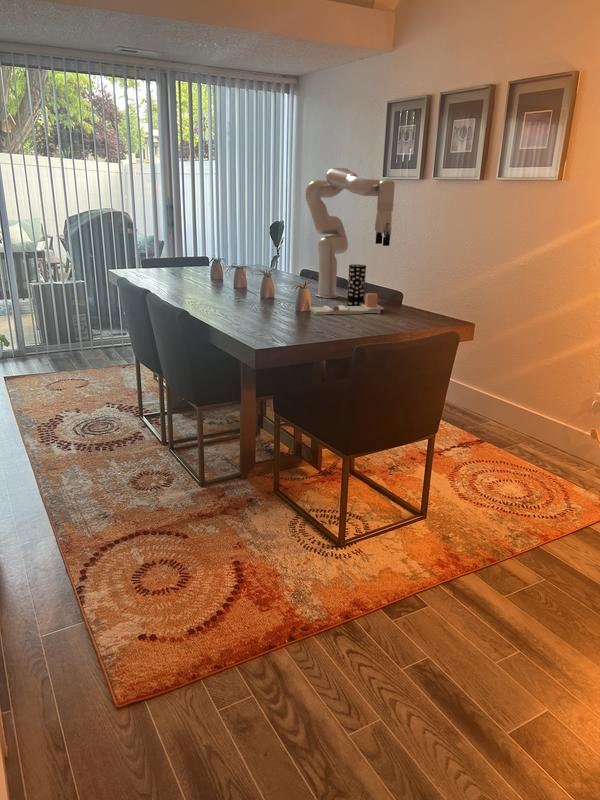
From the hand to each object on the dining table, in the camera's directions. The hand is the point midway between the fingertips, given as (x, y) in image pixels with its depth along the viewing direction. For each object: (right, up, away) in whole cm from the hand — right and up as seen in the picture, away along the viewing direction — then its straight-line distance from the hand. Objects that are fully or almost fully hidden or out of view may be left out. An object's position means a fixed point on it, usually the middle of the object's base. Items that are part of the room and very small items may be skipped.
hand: (382, 244), depth 292 cm
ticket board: (-19, -33, -5) cm, 38 cm away
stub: (-5, -31, -2) cm, 31 cm away
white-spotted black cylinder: (-12, -28, +11) cm, 33 cm away
